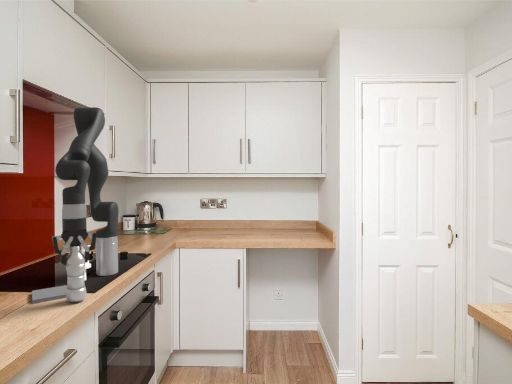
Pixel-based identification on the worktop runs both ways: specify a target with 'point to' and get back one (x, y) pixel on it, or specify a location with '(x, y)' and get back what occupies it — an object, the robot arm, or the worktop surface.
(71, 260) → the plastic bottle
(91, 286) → the worktop surface
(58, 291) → the board
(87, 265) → the white cylindrical piece
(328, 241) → the worktop surface
